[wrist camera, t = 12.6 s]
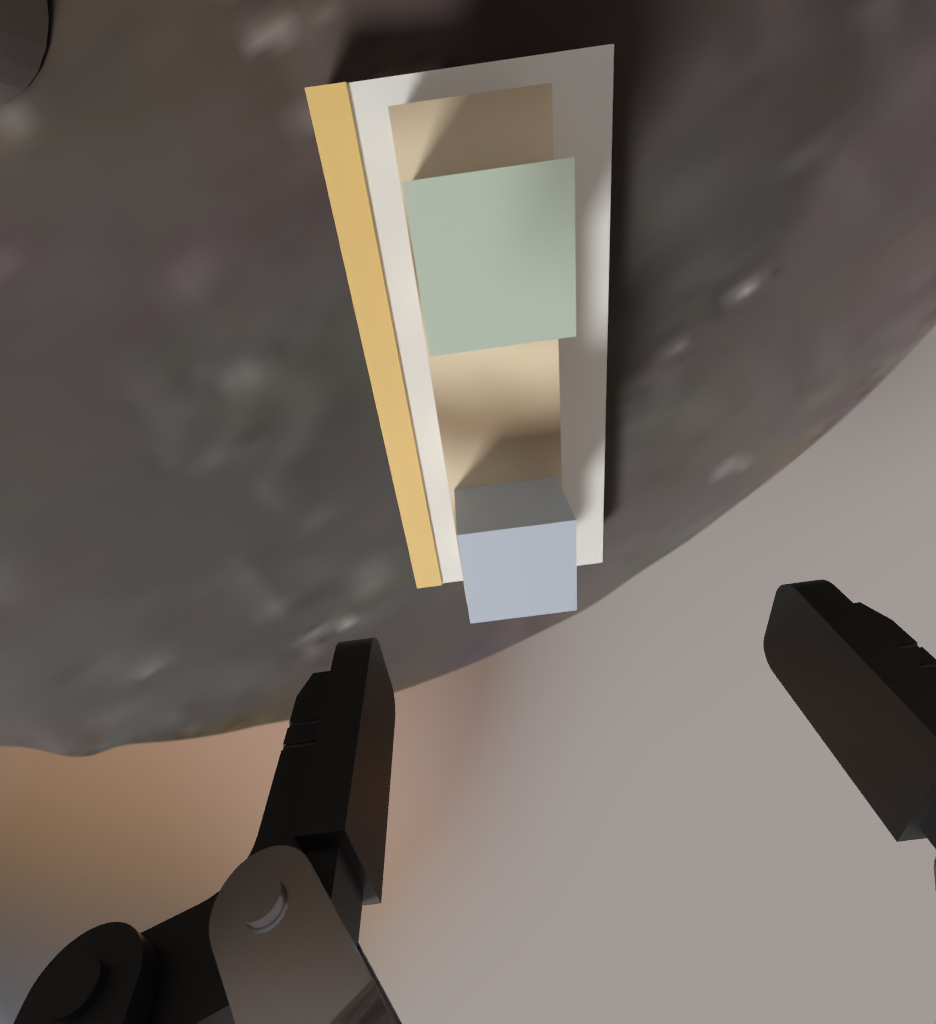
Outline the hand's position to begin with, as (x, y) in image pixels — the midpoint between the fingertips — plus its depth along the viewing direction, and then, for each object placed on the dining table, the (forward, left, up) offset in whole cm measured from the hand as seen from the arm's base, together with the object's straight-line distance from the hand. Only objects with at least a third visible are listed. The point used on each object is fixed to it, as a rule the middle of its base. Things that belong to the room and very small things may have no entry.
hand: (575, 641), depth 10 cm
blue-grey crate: (+6, 0, -14) cm, 15 cm away
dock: (0, 0, -21) cm, 21 cm away
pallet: (0, 0, -18) cm, 18 cm away
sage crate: (-6, 0, -14) cm, 15 cm away
